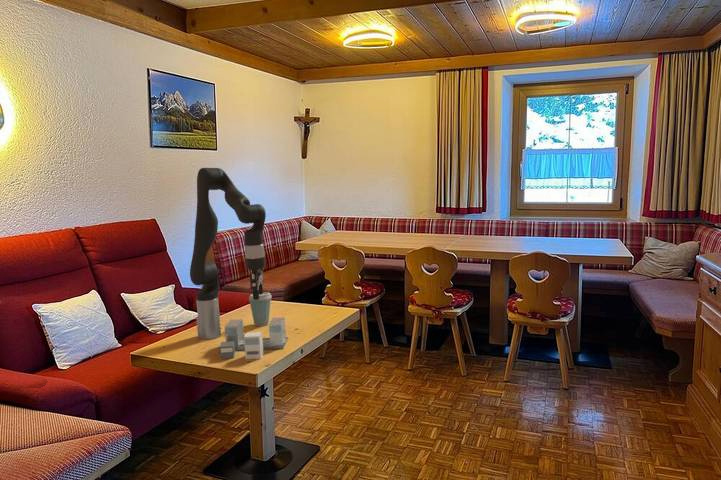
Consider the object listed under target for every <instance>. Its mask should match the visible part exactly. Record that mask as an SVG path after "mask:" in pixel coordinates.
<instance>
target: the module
mask: <svg viewBox="0 0 721 480" xmlns="http://www.w3.org/2000/svg"><path fill="white" fill-rule="evenodd" d="M262 338H263V332H262V331H261V332H257V331H255V332H247V333H245V335H244V345H245V350H244V354H245V355H244V356H245V357H244V358H245V360H256V359H257V360H261V359H262V358H263V356H264V350H263V339H262Z"/></svg>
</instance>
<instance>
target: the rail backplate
mask: <svg viewBox="0 0 721 480" xmlns="http://www.w3.org/2000/svg"><path fill="white" fill-rule="evenodd" d="M243 319H244V318H243ZM243 319H241V318H239V319H236V318H235V319H230V320H229V321H227V323H226V324H225V325H224V334H225V335H224V337H225V342H231V341H234V345H235V352H238V351H240V352H241V351H245V345H244V336H245V335H244V334H245V333H244V323H243ZM268 332H269V333H268V334H269V336H268V337H262V339H263V351H264V350H283V349H285V346H286V344H287V342H288V340H289V338H288V336H287V331H286V318H285V317H272V318H271V320H270V321H269V322H268Z"/></svg>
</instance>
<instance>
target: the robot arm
mask: <svg viewBox="0 0 721 480" xmlns="http://www.w3.org/2000/svg"><path fill="white" fill-rule="evenodd" d="M218 190H219V191H220V190H221V191H223V192H224V200H225V203H226V204H227V205H228V206H229V207H230V208H231V209H233V211H234V212H235V214H236V217H237V218H238V221H239V222H241V223H242V224H246V225H248V224H252V227H251V228H249V229H247V230H245V231H244V233H243V236H244V237H243V239H244V259H245V268H246V269H247V270H251V273H250V274H249V284H250V290H251V291H252V294H253V299H254V300H258V299H259V295H262V294H263V293H264V291H263V289H264V288H263V284H264V272H263V271H264V269H265V268H266V267H267V266H266V264H267V263H266V255H265V254H266V252H265V247H264V238H263V235H264V234H263V233H264V228H265V222H266V214H267V213H266V209H265V208H264V206H263V205H262V204H259V203H255V204H251V201H250V200H249V198H248V197H247V196H246V195H245V194H244V193H243V192H241V191H240V190H239V189H238V188H237V187H236V186H235V184H234V181H232V179H231V178H230V177H229V175H228V174H227V173H226V171H225V170H224V169H222V168H220V167H201V168H200V169H199V170H198V171H197V177H196V198H197V199H196V201H197V202H196V215H195V225H194V226H195V227H194V239H193V240H194V242H193V249H192V250H193V251H192V257H191V262H190V268H189V277H190V282H191V283H192V284H194V285H195V286H202V285H203V286H202V287H201V289H200V290H198V292H196V294H195V299H196V310H197V317H196V331H197V339H201V340H212V339H216V338H219V337H222V328H221V320H220V319H221V317H220V307H219V306H220V305H219V291H220V286H219V285H220V283H219V282H220V280H219V279H220V276H219V269H218V267H217V265H216V264H215V262H213V261H206V260H207V256H208V253H209V252H210V249H211V248H212V246H213V245H214V242H215V241H216V238H217V235H218V227H219V221H218V220H219V218H218V217H217V215H216V212H215V211H214V209H213V207H212V205H211V203H210V198H209V194H210V192H209V191H218Z"/></svg>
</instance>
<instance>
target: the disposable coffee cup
mask: <svg viewBox="0 0 721 480" xmlns="http://www.w3.org/2000/svg"><path fill="white" fill-rule="evenodd" d="M272 298H273V297H272V294H271V293H270V292H263V294H262V295H259V299H258V300H254V299H253V293H252V294H250V295H249V297H248V301H249V305H250V309H251V314H252V319H253V323H254V326H256V327H262V326H263V327H264V326H267V325H268V326H269V323H270V314H271V304H272V303H271V301H272Z"/></svg>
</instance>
